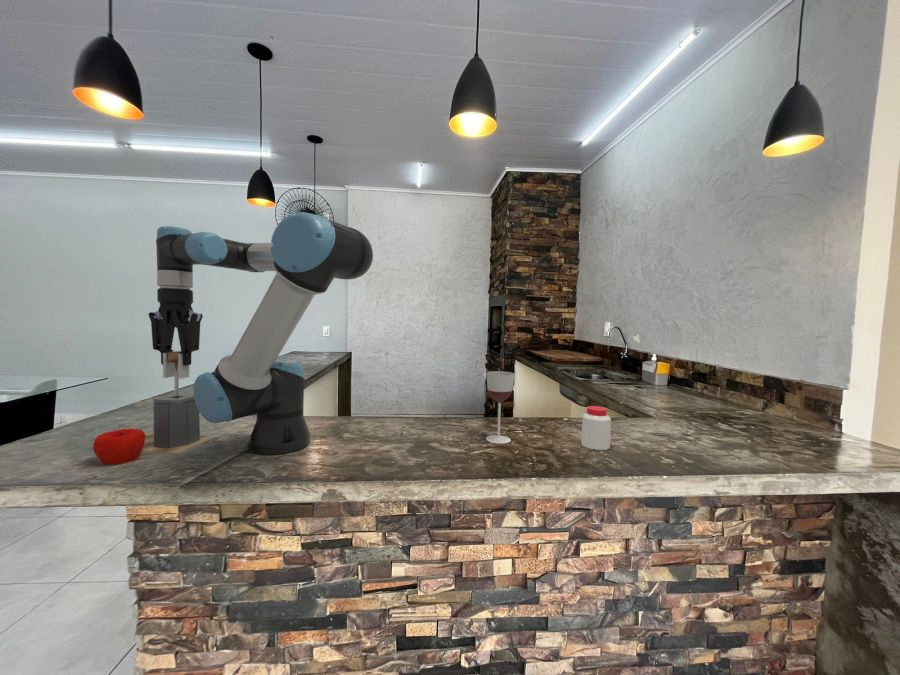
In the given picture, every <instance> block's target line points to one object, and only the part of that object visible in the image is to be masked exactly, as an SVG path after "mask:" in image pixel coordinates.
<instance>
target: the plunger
mask: <svg viewBox="0 0 900 675" xmlns="http://www.w3.org/2000/svg"><path fill="white" fill-rule="evenodd" d="M180 351H181V350H180ZM180 351H175V350H173V351H172V352H168V362H171V363H174V377H173V378H174V382H173V383H174V384H173V385H174V394H175V398H179V394H180V393H179V392H180V391H179V390H180V389H179V388H180V387H179V385H180V383H179V380H180V378H178V354H179V352H180Z"/></svg>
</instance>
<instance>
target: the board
mask: <svg viewBox="0 0 900 675" xmlns="http://www.w3.org/2000/svg"><path fill="white" fill-rule="evenodd" d="M144 433H145V442H144V446H143V449H142V452H151V453H168V454H181V453H183V452H185V451H188V450H190V449H193V448H195V447H197V446H198V445H200V444H203V443H205V442H208V441H210V440H213V439H215V438H216V436H210V435H200V440H199V441H197V442H194V443H192V444H190V445H186V446H180V447H174V448H156V447H154V432H144Z"/></svg>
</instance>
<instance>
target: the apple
mask: <svg viewBox="0 0 900 675" xmlns="http://www.w3.org/2000/svg"><path fill="white" fill-rule="evenodd" d="M145 433H146V432H144V430H142V429H140V428H139V429H137V428H123V429H117V430H112V431H108V432H104V433H101V434H98V435H97V437H95V439H94V440H93V445H92V450H93V453H94V455H95V456H96V457H97V459H98V460H100V461H101V462H102V463H103V464H104V465H105V464H106V465H119V464H120V465H121V464H127V463H130V462H133V461H136V460H137V459H139V457H140V456H141V453H142V452H143V451H142V449H143V446H144V442H145Z"/></svg>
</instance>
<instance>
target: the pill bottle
mask: <svg viewBox="0 0 900 675" xmlns="http://www.w3.org/2000/svg"><path fill="white" fill-rule="evenodd" d="M581 420H582V421H581V441H580V442H581V445H582V447H585V448H587V449H590V450H594V449H595V450H594V451H607V450H609V449H610V447H611V428H612V427H611V425H612V418H611V416H610V415H609V414H608V408H606V407H604V406H598V405H597V406H596V405H590V406H587V407H586V412H585V413H583V414H582V418H581Z"/></svg>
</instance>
